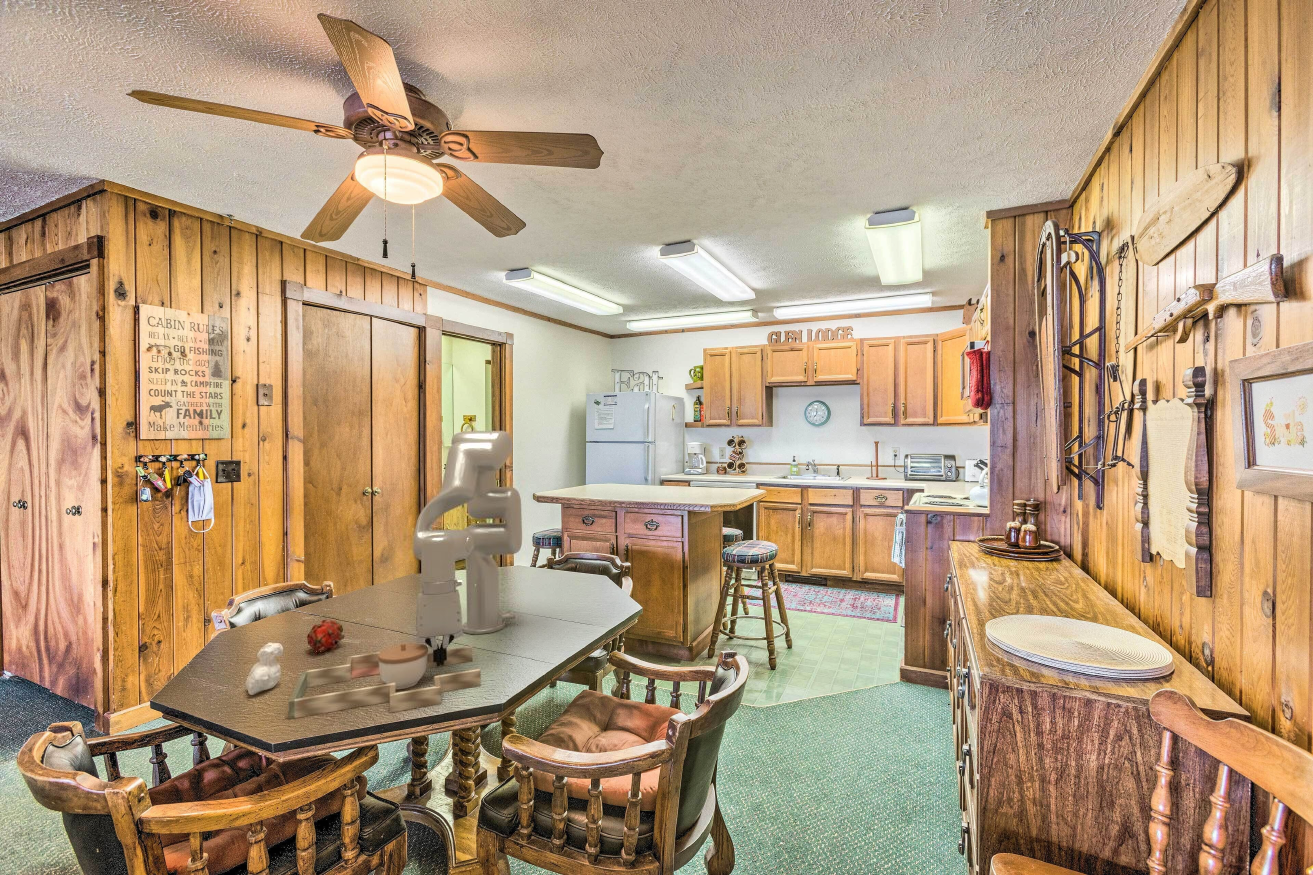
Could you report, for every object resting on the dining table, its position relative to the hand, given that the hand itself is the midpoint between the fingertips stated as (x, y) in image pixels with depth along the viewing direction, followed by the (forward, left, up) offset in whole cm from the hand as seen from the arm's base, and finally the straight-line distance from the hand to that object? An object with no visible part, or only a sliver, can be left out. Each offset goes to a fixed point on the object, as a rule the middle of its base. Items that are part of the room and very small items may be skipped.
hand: (440, 663), depth 141 cm
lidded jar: (+8, 0, -4) cm, 9 cm away
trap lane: (+11, 0, -3) cm, 11 cm away
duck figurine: (+38, -12, -4) cm, 40 cm away
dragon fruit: (+28, -35, -4) cm, 45 cm away
